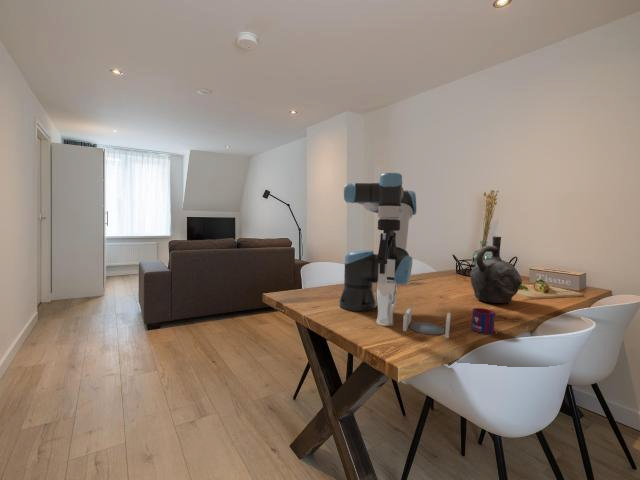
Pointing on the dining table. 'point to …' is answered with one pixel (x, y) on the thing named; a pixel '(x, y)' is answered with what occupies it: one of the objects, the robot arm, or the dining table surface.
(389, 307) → the beer glass
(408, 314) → the low walls
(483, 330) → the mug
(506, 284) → the vessel
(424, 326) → the slate coaster
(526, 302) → the dining table surface
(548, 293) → the cutting board
